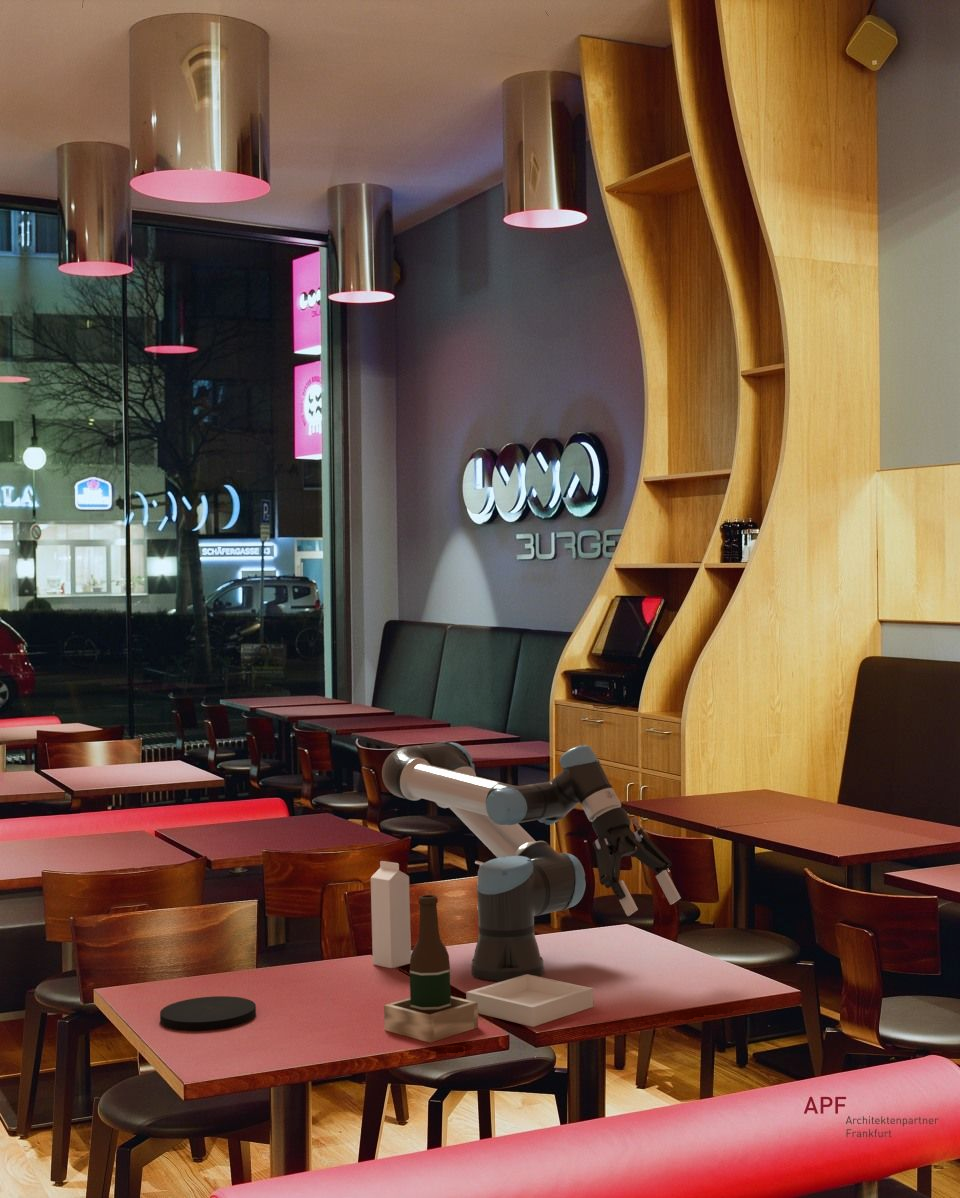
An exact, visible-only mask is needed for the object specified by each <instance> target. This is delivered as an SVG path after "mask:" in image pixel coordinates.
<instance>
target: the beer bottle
mask: <svg viewBox="0 0 960 1198" xmlns="http://www.w3.org/2000/svg"><path fill="white" fill-rule="evenodd" d="M438 901H439V900H438V897H437V895H434V894H424V895H420V896H419V898H418V902H417V903H418V904H419V922H418V923H419V924H418V925H419V926H418V940H417V942H416V943H415V945H414V947H413V949H412V950H411V959H410V964H409V990H410V991H409V993H410V995H409V996H410V997H409V998H410V1001H411V1010H413V1011H417V1012H421V1013H425V1014H429V1015H430V1014H434V1013H437V1012H440V1011H444V1010H447V1009H450V1008H451V996H452V995H451V994H452V993H451V967H450V965H451V963H450V962H451V961H450V955H449V953H448V950H447V947H446V945H445V944H444V942H443V941H442V939H441V936H440V930H439V921H438V920H439V919H438V907H437V905H438Z"/></svg>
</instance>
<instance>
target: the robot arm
mask: <svg viewBox="0 0 960 1198" xmlns="http://www.w3.org/2000/svg"><path fill="white" fill-rule="evenodd" d="M472 762H473V757H472V756H471V753H470V752H469V751H468V749H466V748H465V747H464V746H463V745H461V744H459V743H456V742H451V741H450V742H449V741H447V742H446V741H439V742H435V743H429V744H427V743H426V744H421V745H420V744H419V745H410V746H409V745H408V746H403V747H399V748H397V749H395V750H393V751H392V752H391V753H390V754H389V755H388V756H387V757H386V758H385V760H384V762H383V765H382V770H381V777H382V781H383V784H384V786H385V788H386V789H387V790H388V791H389V793H391V794H392V795H393V796H396V797H398V798H402V799H406V800H409V801H419V800H421V799H424V800H427V801H431V802H434V803H435V804H436V805H437V806H438V807H440V808H443V809H447V808H448V809H450V811H452V812H453V813H454V814H455V815H456V817H457V818H459V820H461V822H462V823H463V824H464V825H465V826H466V827H467V828H468V829H469V830H470V831H471V832H472V833H473V834H474V835H475V836H476V837H477V838H478V839H479V840H480V841H481V842H482V843H483V844H484V846H485V847H487V848H488V849H489V851H491V853H492V854H493V855H494V856H495V857H496V858H493V859H490V860H488V861H485V862H483V863H484V864H482V865H479V866H480V867H478V871H477V881H476V891H477V905H478V910H477V913H478V914H477V915H478V938H477V942H476V946H475V948H474V950H475V951H474V954H473V955H474V956H473V958H471V959H472V960H471V964H470V965H471V975H472V976H473V977H475V978H477V979H481V980H485V981H493V982H502V981H505V980H509V979H512V978H516V977H519V976H522V975H526V974H529V975H533V976H538V977H541V975H542V974H544V970H545V969H544V968H545V967H544V964H545V963H544V959H543V957H542V956H541V953H540V950H539V949H540V948H539V945H538V942H537V939H536V935H535V917H538V916H541V915H546V914H550V913H554V912H558V911H559V912H561V911H565V910H568V909H569V908H572V907H575V906H577V904H578V903H579V902H580V901H581V900H582V898H583V897H584V894H585V891H586V878H585V877H586V873H585V870H584V866H583V865H582V863H581V861H580V860H579V859H578V857H576V856H575V855H573V854H572V853H567V852H562V853H559V852H557V851H556V850H555V849H554V848H553V847H552V846H551V845H550V844H549V843H548V842H547V841H544V840H538V841H536V840H535V839H534V838H533V837H532V836H531V835H530V834H529V833H528V831H526V830H525V829H524V828H523V827H522V826H521V825H520V824H522V823H526V822H531V821H538V822H539V823H541V824H542V823H543V824H545V825H548V826H550V825H553V824H555V823H557V822H558V821H561V820H562V819H563V818H564V817H566V816H567V814H569V813H570V812H571V811H572V810H574V808H576V807H577V806H578V805H579V804H580V805H581V807H582V809H583V811H584V813H585V816H586V817H587V819H588V821H589V822H591V826H592V828H593V830H594V832H595V835H596V836H597V839H596V840H594V841H593V842H592V846H593V848H594V851H595V854H596V855H595V856H596V863H597V870H598V871H597V872H598V879H599V883H600V885H601V886H604V887H605V888H606V889H610V888H611V891H612V892H613V894H614V896H615V898H616V899H617V900H618V901H619V903H620V904H621V905H620V906H621V907H622V909H623V911H624V913H625V915H626V916H627V917H629V916H631V915H632V914H634V913H635V912H637V911H638V910H639V908H638V907H637V905H636V902H635V900H634V898H633V897H632V895H631V893H630V891H629V889H628V887H627V885H626V883H625V881H624V880H623V879H622V880H620V875H621V863H622V858H623V857H628V856H629V857H632V858H636V859H637V860H638V861H639V862H641V863H642V864H643V865H645V866H646V867H648V868H649V869H650V870H651V871H653V872H654V873H656V874H657V875H655V878H656V880H657V882H658V884H659V886H660V888H661V889H662V892H663V894H664V895H665V897H666V899H667V902H668V903H669V905H670V906H671V905H673V904H674V903H676V902H678V901H680V899H682V897H681V895H680V893H679V892H678V890H677V888H676V886H675V883H674V880H673V878H672V877H671V875H670V872H669V870H668V869H670V868H671V866H672V864H673V863H672V861H671V860H670V858H668V857H667V856H666V855H665V854H664V853H663V851H661V850H660V848H658V846H656V844H655V843H654V842H653V841H652V840H651V839H650V838H649V837H648V836H647V834H646V833H645V830H644V829H643V828H639V829H638V830H636V831H635V832H633V831H632V830H631V828H630V826H631V820H630V818H629V816H628V814H627V812H626V810H625V808H623V807H622V803H621V801H620V799H619V797H618V796H617V793H616V792H615V789H614V788H613V786H612V784H611V782H610V781H609V777H608V776H607V774H606V772H605V770H604V768H603V766H602V764H601V761H600V759H598V757H597V755H596V754H595V752H594V750H593V749H592V747H591V746H589V745H587V744H583V745H577V746H574V747H572V748H569V750H567V751H565V752H564V753H563V754H562V755H561V756H560V758H559V764H560V767H561V769H562V771H560V772H559V774H557V776H555V777H554V778H552V779H551V780H550V781H545V782H539V783H534V784H533V783H531V784H524V785H512V784H510V783H509V784H508V783H504V782H500V781H497V780H492V779H489V778H488V779H487V778H484V777H481V776H480V777H479V776H477V774H476V772H475V767H476V766H475V764H474V763H472Z"/></svg>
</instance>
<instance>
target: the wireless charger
mask: <svg viewBox="0 0 960 1198" xmlns="http://www.w3.org/2000/svg"><path fill="white" fill-rule="evenodd" d="M256 1007H257V1006H256V1003H255V1002H254V1001H252V1000H250V999H249V998H246V997H239V996H238V997H237V996H228V995H226V996H225V995H223V996H221V995H218V996H215V995H214V996H205V997H204V996H202V997H193V998H189V999H184V1000H180V1001H176V1002H173V1003H171V1004H168V1005H166V1006H164V1007H163V1008H162V1009H160V1012H159V1020H160V1022H159V1023H160V1025H161V1026H163V1027H164V1028H167V1029H169V1030H173V1031H174V1030H175V1031H180V1032H209V1031H218V1030H225V1029H229V1028H234V1027H238V1026H241V1025H244V1024H247V1023H249V1022H251V1021H252V1020H253V1019H254V1018H256V1016H257V1008H256Z"/></svg>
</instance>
